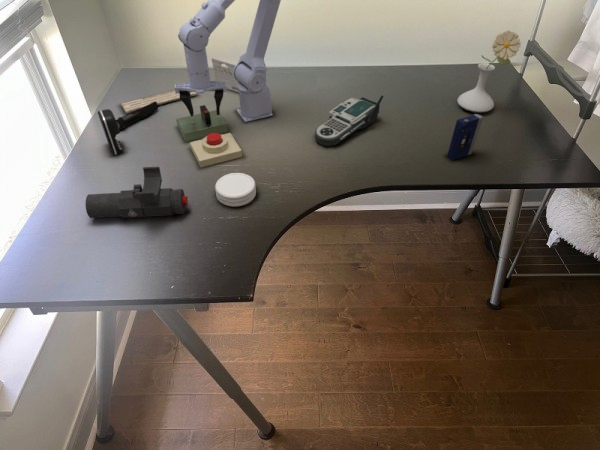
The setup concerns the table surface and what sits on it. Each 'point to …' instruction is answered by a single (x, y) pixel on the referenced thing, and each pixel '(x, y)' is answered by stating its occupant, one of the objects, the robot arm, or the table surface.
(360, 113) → the communication device
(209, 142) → the power button
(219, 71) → the ink cartridge box
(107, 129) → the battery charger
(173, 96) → the newspaper
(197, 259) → the table surface
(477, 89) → the flower in vase
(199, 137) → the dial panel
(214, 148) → the box
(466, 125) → the cassette player
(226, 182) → the coaster
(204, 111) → the black rectangular block
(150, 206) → the laser sight
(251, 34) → the robot arm
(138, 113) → the electric trimmer
